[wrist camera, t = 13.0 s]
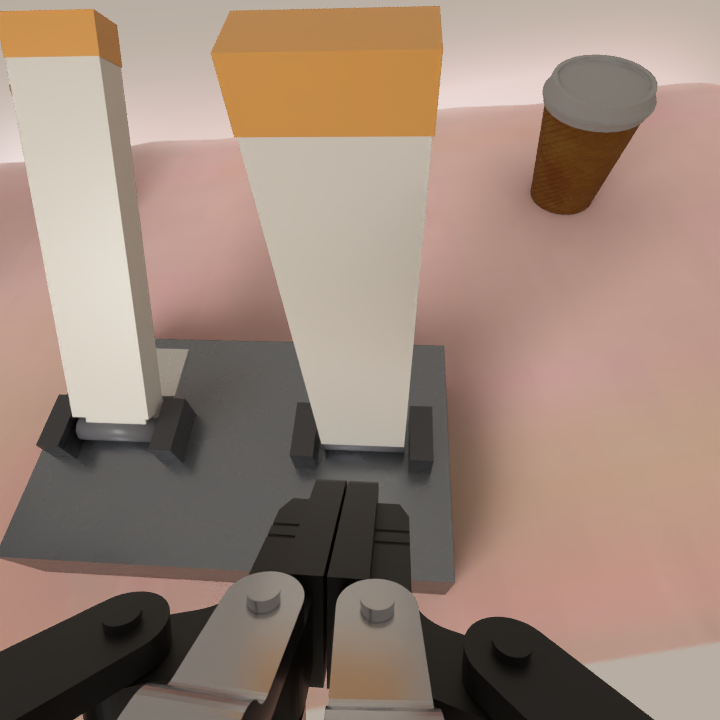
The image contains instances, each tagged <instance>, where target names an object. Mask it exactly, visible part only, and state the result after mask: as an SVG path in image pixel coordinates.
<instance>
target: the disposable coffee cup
mask: <svg viewBox="0 0 720 720" xmlns="http://www.w3.org/2000/svg"><path fill="white" fill-rule="evenodd" d="M656 91H657V81H656V79H655V77H654V76H653V75H652V73H651V72H649V71H648V70H647V69H645V68H644V67H642V66H641V65H639V64H637V63H635V62H632V61H630V60H626V59H623V58H619V57H615V56H607V55H584V56H578V57H574V58H571V59H568V60H566V61H564V62H562V63H560V64H559V65H558V66H557V67H556V68H555V70H554V72H553V73H552V75H551V77H550V78H549V79H548V80H547V81H546V82H545V84H544V87H543V98H544V104H545V106H544V112H543V118H542V125H541V131H540V137H539V143H538V149H537V155H536V162H535V168H534V174H533V181H532V187H531V196H532V198H533V200H534V201H535V203H536V204H538V205H539V206H540V207H542V208H543V209H545V210H547V211H550V212H553V213H557V214H575V213H579V212H581V211H583V210H585V209H586V208H587V207H588V206H589V205H590V204H591V202H592V200H593V199H594V197H595V195H596V194H597V192H598V191H599V189H600V187H601V186H602V184H603V183H604V181H605V179H606V178H607V176H608V175H609V173H610V171H611V170H612V168H613V167H614V165H615V164H616V162H617V160H618V159H619V157H620V155H621V154H622V152H623V151H624V149H625V148H626V146H627V144H628V143H629V141H630V140H631V138H632V136H633V135H634V133H635V131H636V130H637V128H638V127H639V125H640V124H641V123H642V122H643V121H644V120H645V119H646V118H647V117H648V116H649V115H650V114H652V112H653V111H654V109H655V106H656V103H657V102H656V96H655V95H656Z"/></svg>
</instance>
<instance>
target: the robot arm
mask: <svg viewBox="0 0 720 720" xmlns="http://www.w3.org/2000/svg"><path fill="white" fill-rule="evenodd" d="M378 499H379V482H367V481H349V482H348V486H347V480H332V479H317V480H316V482H315V485H314V487H313V490H312V493H311V495H310V498H309V499H301V498H293V499H292V500H290V501H289V502H288V503H286V504H285V505H284V506H283V507H281V508H280V509H279V511H278V513H277V515H276V517H275V519H274V522H273V525H272V526H271V528H270V530H269V532H268V536H267V537H266V539H265V541H264V543H263V545H262V547H261V549H260V551H259V554H258V556H257V558H256V560H255V562H254V564H253V566H252V569H251V571H250V573H249V575H248V576H246V577H244V578H242V579H240V580H238V581H237V582H235V583H234V584H233V585H232V586H231V587H230V588H229V589H228V590H227V591H226V593H225V594H224V596H223V598H222V599H221V601H220V602H219V604H217V605H214V606H211V607H208V608H205V609H200V610H195V611H189V612H183V613H177V614H171V615H170V608H169V605H168V603H167V601H166V600H165V599H164V598H163V597H162V596H160V595H158V594H155V593H151V592H130V593H126V594H121V595H118V596H115V597H113V598H110V599H108V600H106V601H104V602H102V603H100V604H98V605H95V606H93V607H91V608H89V609H87V610H85V611H83V612H81V613H79V614H77V615H75V616H73V617H71V618H69V619H67V620H65V621H62V622H60V623H58V624H56V625H54V626H52V627H50V628H48V629H46V630H44V631H42V632H40V633H38V634H36V635H34V636H32V637H30V638H27V639H25V640H23V641H21V642H19V643H17V644H15V645H13V646H11V647H9V648H7V649H5V650H3V651H1V652H0V720H73V719H75V718H77V717H78V716H80V715H81V714H83V719H84V720H306V698H307V693H308V688H309V687H319V688H323V687H324V681H325V676H326V670H327V689H329V701H328V706H326V708H325V715H324V720H654V719H652V718H651V717H650V716H649V715H647V714H646V713H644V712H643V711H642V710H641V709H639V708H638V707H637V706H636V705H634V704H633V703H632V702H630V701H629V700H628V699H626V698H625V697H624V696H622V695H621V694H620V693H619V692H617V691H616V690H615V689H613V688H612V687H611V686H609V685H608V684H607V683H606V682H604V681H603V680H602V679H600V678H599V677H598V676H596V675H595V674H594V673H593V672H591V671H590V670H588V668H586V667H585V666H584V665H582V664H581V663H580V662H578V661H577V660H576V659H575V658H573V657H572V656H571V655H569V654H568V653H567V652H565V651H564V650H563V649H562V648H560V647H559V646H558V645H556V644H555V643H554V642H552V641H551V640H550V639H549V638H547V637H546V636H545V635H543V634H542V633H541V632H539V631H538V630H536V629H535V628H534V627H532V626H530V625H528V624H526V623H524V622H521V621H519V620H515V619H511V618H506V617H489V618H485V619H481V620H479V621H477V622H475V623H474V624H473V625H471V627H470V628H469V629H468V630H467V632H466V634H465V635H463V634H460V633H457V632H454V631H451V630H448V629H446V628H443V627H441V626H439V625H437V624H435V623H433V622H432V621H430V620H429V619H427V618H426V617H425V616H424V615H423V614H422V613H421V612H420V611H419V607H418V604H417V601H416V599H415V597H414V596H413V595H412V588H411V557H410V526H409V516H408V515H407V513H406V512H405V511H404V509H403V508H402V507H401V505H400V504H386V503H378Z"/></svg>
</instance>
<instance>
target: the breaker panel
mask: <svg viewBox="0 0 720 720" xmlns="http://www.w3.org/2000/svg"><path fill="white" fill-rule="evenodd" d="M155 344H156V352H157V360H158V368H159V376H160V384H161V392H162V400H163V403H162V407H161V410H160V411H158V412H157V413H156V414H155V415H154V416H153V418H158V419H157V422H156V426H155V429H154V432H153V435H152V438H151V441H150V442H130V441H104V440H81V439H79V438H78V437H77V434H76V425H77V422H78V420H79V419H80V417H72V412H71V407H70V401H69V396H68V393H67V395H59V396H58V398H57V400H56V402H55V405H54V407H53V409H52V411H51V413H50V416H49V418H48V420H47V422H46V424H45V427H44V429H43V431H42V433H41V436H40V438H39V440H38V442H37V444H36V446H38V447H40V448H41V449H43V450H42V452H41V454H40V457H39V459H38V461H37V463H36V466H35V468H34V470H33V472H32V475H31V477H30V479H29V481H28V484H27V486H26V488H25V491H24V493H23V495H22V497H21V500H20V502H19V504H18V506H17V509H16V511H15V513H14V515H13V518H12V520H11V522H10V524H9V527H8V529H7V531H6V533H5V536H4V538H3V540H2V542H1V545H0V558H1V559H4V560H8V561H11V562H15V563H18V564H22V565H25V566H28V567H32V568H35V569H39V570H42V571H48V572H65V573H82V574H99V575H117V576H134V577H151V578H168V579H186V580H203V581H220V582H237V581H238V580H240V579H242V578H244V577H246V576H248V575H249V573H250V571H251V569H252V566H253V564H254V562H255V560H256V558H257V556H258V554H259V551H260V549H261V547H262V545H263V543H264V541H265V539H266V537H267V536H268V532H269V530H270V528H271V526H272V525H273V522H274V519H275V517H276V515H277V513H278V511H279V509H280V508H281V507H283V506H284V505H285V504H286V503H288V502H289V501H290V500H292V499H293V498H301V499H309V498H310V495H311V493H312V490H313V487H314V485H315V482H316V480H317V479H332V480H347V486H348V482H349V481H367V482H379V499H378V503H386V504H400V505H401V507H402V508H403V509H404V511H405V512H406V513H407V515H408V516H409V526H410V557H411V588H412V593H427V594H446V593H447V592H448V590H449V589H450V588H451V587H452V586H453V584H454V583H455V575H454V553H453V531H452V509H451V487H450V465H449V443H448V421H447V399H446V377H445V355H444V346H430V345H413V355H412V366H411V377H410V388H409V399H408V410H407V421H406V440H405V453H401V452H375V451H350V450H324V449H322V444H321V440H320V437H319V433H318V429H317V426H316V422H315V419H314V415H313V411H312V408H311V404H310V400H309V397H308V393H307V390H306V386H305V382H304V379H303V375H302V371H301V368H300V364H299V361H298V357H297V353H296V350H295V346H294V342H262V341H220V340H178V339H155Z"/></svg>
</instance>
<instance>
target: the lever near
mask: <svg viewBox="0 0 720 720" xmlns="http://www.w3.org/2000/svg"><path fill="white" fill-rule="evenodd" d="M442 54H443V43H442V31H441V15H440V6H425V7H424V6H423V7H382V8H381V7H379V8H336V9H335V8H334V9H290V10H247V11H230V12H229V14H228V17H227V19H226V21H225V23H224V25H223V27H222V30H221V32H220V34H219V36H218V38H217V40H216V43H215V45H214V47H213V49H212V52H211V56H212V59H213V63H214V66H215V70H216V74H217V77H218V81H219V84H220V88H221V91H222V95H223V99H224V102H225V106H226V109H227V112H228V116H229V120H230V124H231V127H232V131H233V134H234V137H237V139H238V143H239V147H240V150H241V154H242V157H243V161H244V165H245V168H246V172H247V176H248V179H249V183H250V186H251V190H252V194H253V197H254V201H255V205H256V208H257V212H258V215H259V219H260V223H261V226H262V230H263V234H264V237H265V241H266V244H267V248H268V252H269V255H270V259H271V263H272V266H273V270H274V274H275V277H276V281H277V284H278V288H279V292H280V295H281V299H282V303H283V306H284V310H285V313H286V317H287V321H288V324H289V328H290V332H291V335H292V339H293V342H294V346H295V350H296V353H297V357H298V361H299V364H300V368H301V371H302V375H303V379H304V382H305V386H306V390H307V393H308V397H309V400H310V404H311V408H312V411H313V415H314V419H315V422H316V426H317V429H318V433H319V437H320V440H321V444H322V449H324V450H350V451H375V452H401V453H405V440H406V421H407V410H408V399H409V388H410V377H411V366H412V355H413V344H414V333H415V322H416V311H417V300H418V289H419V278H420V267H421V256H422V246H423V235H424V224H425V213H426V202H427V191H428V180H429V169H430V158H431V147H432V136H435V128H436V117H437V107H438V95H439V85H440V75H441V65H442Z"/></svg>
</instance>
